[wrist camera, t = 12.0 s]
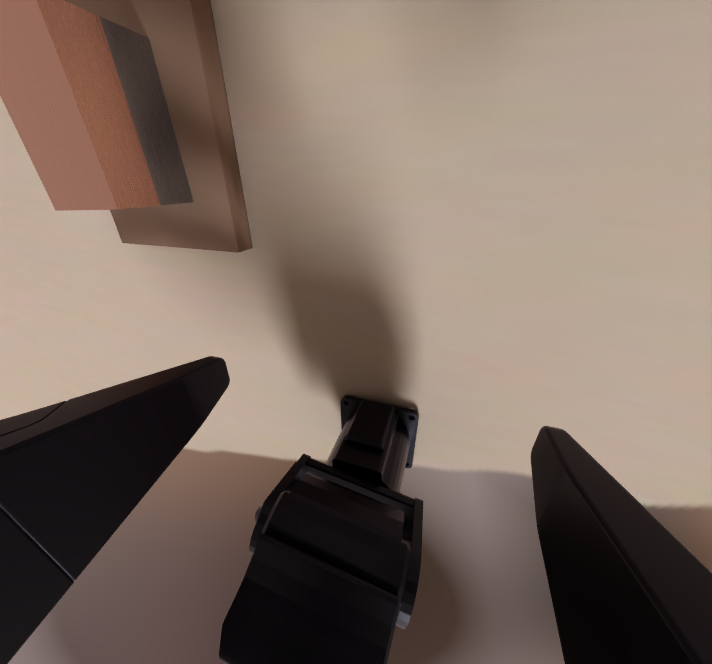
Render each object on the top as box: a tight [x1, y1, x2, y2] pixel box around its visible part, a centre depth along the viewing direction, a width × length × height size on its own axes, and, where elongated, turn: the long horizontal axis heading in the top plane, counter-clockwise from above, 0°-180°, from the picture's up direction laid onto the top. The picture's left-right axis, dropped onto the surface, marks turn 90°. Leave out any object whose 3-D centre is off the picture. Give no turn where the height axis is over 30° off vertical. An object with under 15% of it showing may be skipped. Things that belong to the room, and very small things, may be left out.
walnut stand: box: [64, 0, 252, 252], centre depth 19 cm, size 14×11×2 cm
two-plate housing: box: [0, 0, 194, 210], centre depth 16 cm, size 5×8×5 cm, turn 3°
